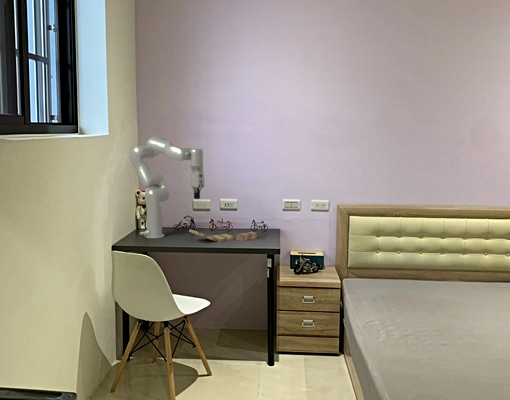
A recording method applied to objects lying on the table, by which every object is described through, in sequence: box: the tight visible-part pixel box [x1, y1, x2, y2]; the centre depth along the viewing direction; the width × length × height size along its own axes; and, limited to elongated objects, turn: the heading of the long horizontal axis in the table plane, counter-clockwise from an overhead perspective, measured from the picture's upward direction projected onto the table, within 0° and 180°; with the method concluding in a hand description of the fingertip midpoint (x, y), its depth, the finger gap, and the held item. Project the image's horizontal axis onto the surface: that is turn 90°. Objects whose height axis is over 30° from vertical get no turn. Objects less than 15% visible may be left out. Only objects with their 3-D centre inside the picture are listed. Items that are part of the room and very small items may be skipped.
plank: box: [188, 228, 217, 242], centre depth 357 cm, size 14×12×2 cm
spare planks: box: [235, 231, 259, 242], centre depth 367 cm, size 15×7×3 cm, turn 134°
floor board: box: [209, 233, 237, 243], centre depth 365 cm, size 14×12×2 cm
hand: (196, 198), depth 352 cm, fingers closed
